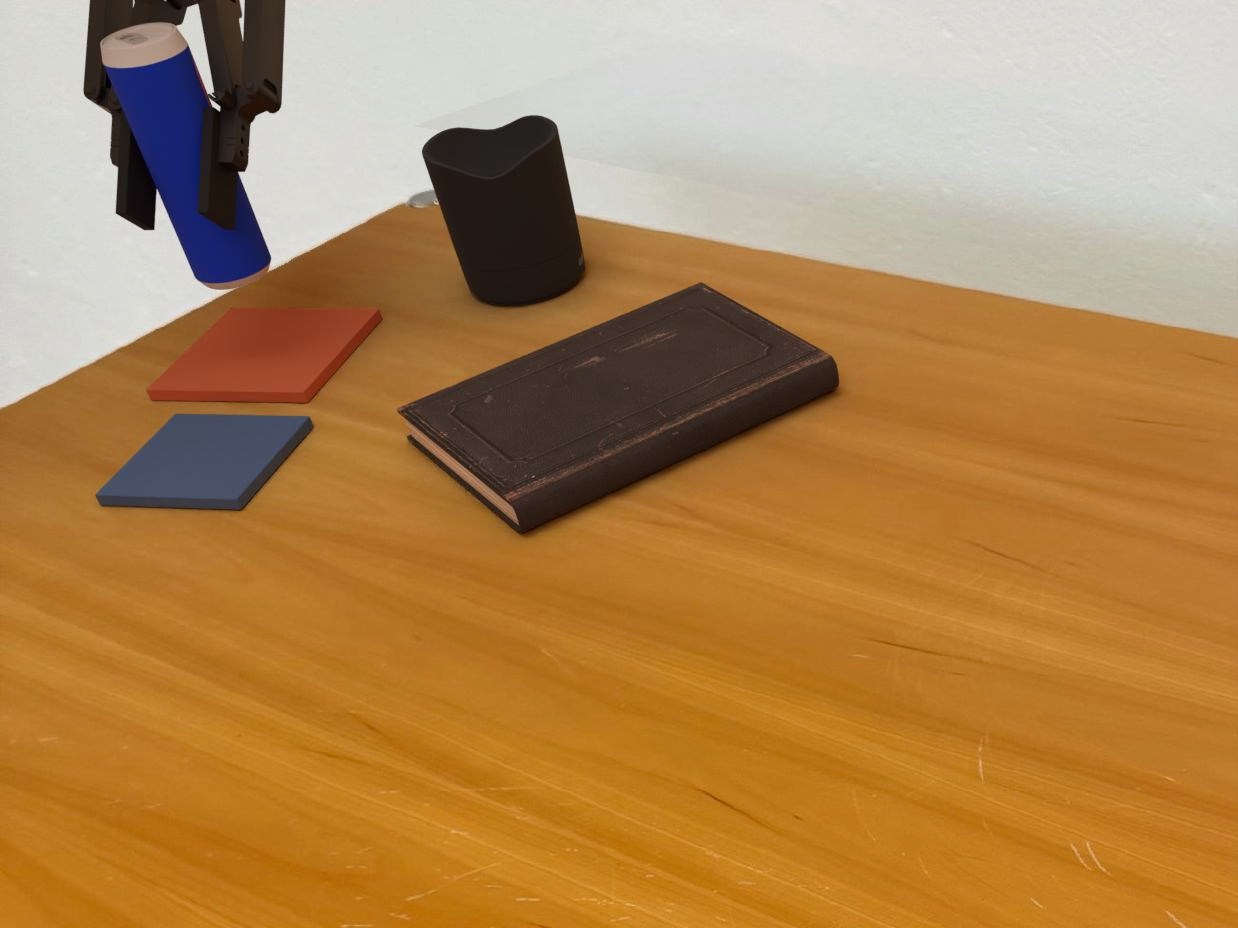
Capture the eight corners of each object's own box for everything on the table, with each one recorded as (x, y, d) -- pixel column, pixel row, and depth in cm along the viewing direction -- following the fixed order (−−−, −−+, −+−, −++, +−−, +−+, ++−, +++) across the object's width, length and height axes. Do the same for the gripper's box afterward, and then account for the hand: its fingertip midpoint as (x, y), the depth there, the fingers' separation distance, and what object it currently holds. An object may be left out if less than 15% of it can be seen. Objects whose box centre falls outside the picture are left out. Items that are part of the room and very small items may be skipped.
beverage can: (290, 265, 110) (198, 25, 99) (232, 297, 107) (131, 54, 97) (240, 253, 112) (145, 17, 102) (182, 285, 110) (77, 46, 99)
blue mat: (99, 505, 102) (93, 494, 101) (180, 423, 109) (175, 413, 108) (241, 510, 100) (236, 499, 99) (314, 426, 106) (309, 415, 106)
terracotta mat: (150, 400, 111) (145, 389, 111) (235, 318, 119) (230, 307, 119) (307, 403, 109) (303, 392, 108) (382, 318, 117) (379, 308, 116)
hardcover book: (408, 440, 104) (396, 408, 102) (707, 313, 112) (701, 281, 111) (524, 538, 95) (513, 503, 93) (841, 391, 103) (836, 357, 101)
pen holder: (536, 319, 114) (496, 174, 107) (438, 298, 118) (393, 157, 111) (617, 263, 120) (584, 121, 113) (521, 245, 124) (483, 107, 116)
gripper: (358, -122, 104) (336, 243, 105) (111, -108, 108) (93, 245, 109) (289, -199, 97) (267, 195, 98) (27, -181, 101) (8, 198, 102)
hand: (175, 220), depth 104 cm, fingers closed on beverage can, 5 cm apart
